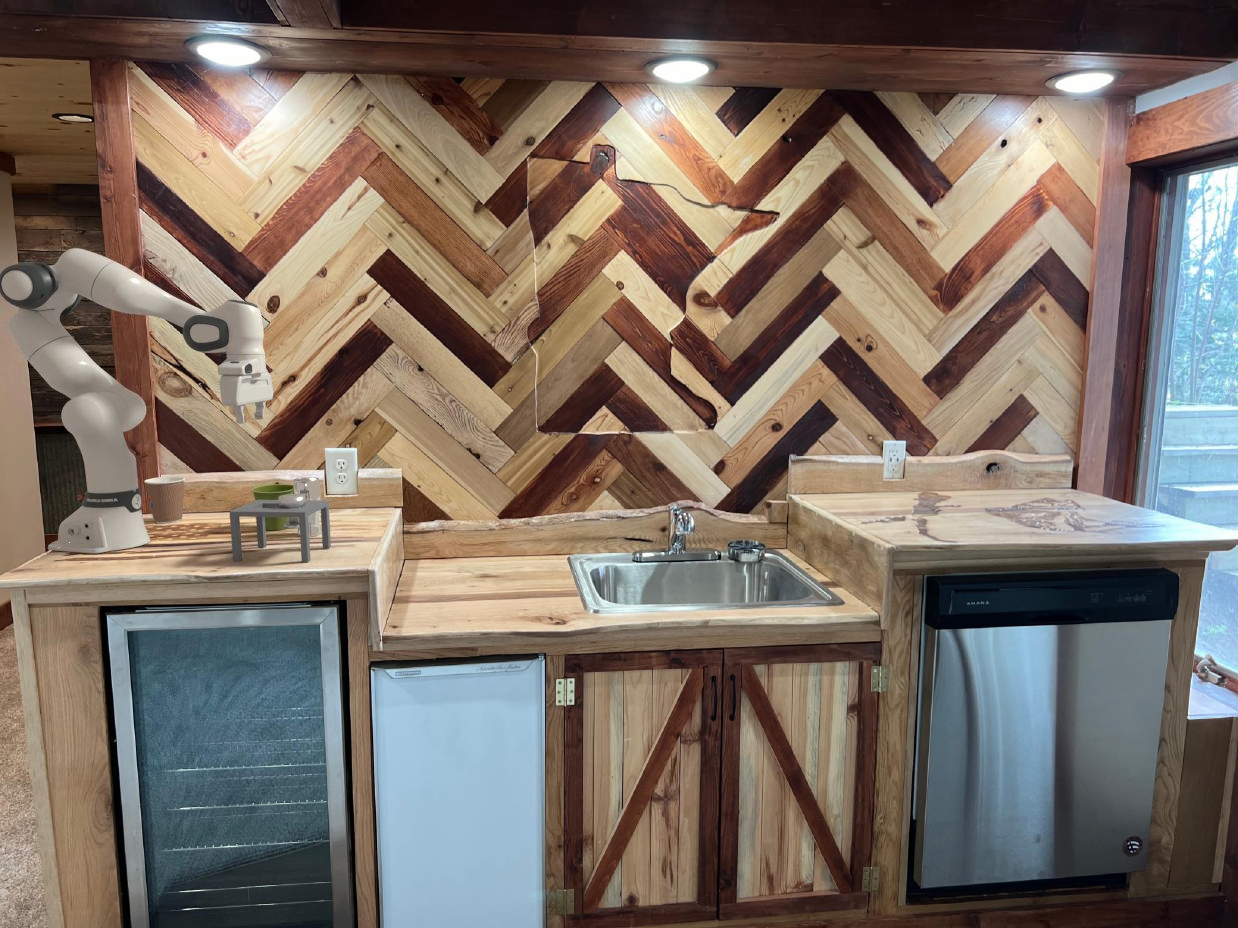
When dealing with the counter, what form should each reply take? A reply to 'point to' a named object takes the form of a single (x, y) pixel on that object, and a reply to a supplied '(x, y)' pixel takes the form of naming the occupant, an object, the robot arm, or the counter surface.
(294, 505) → the steel peg
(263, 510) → the keyhole stand
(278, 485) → the plant pot
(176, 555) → the counter surface
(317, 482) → the beer glass
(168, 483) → the coffee cup
